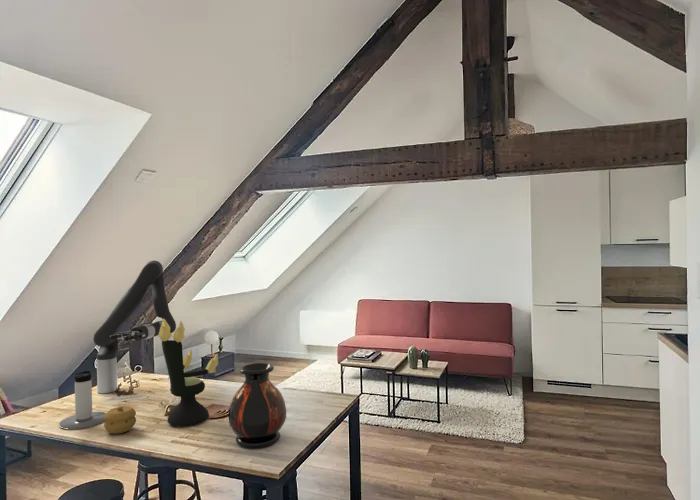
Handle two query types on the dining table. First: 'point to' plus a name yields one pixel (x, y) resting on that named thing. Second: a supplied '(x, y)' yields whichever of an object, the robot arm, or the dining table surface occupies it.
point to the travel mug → (83, 396)
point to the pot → (120, 419)
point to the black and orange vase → (257, 408)
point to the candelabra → (184, 379)
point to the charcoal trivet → (73, 424)
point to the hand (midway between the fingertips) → (117, 338)
